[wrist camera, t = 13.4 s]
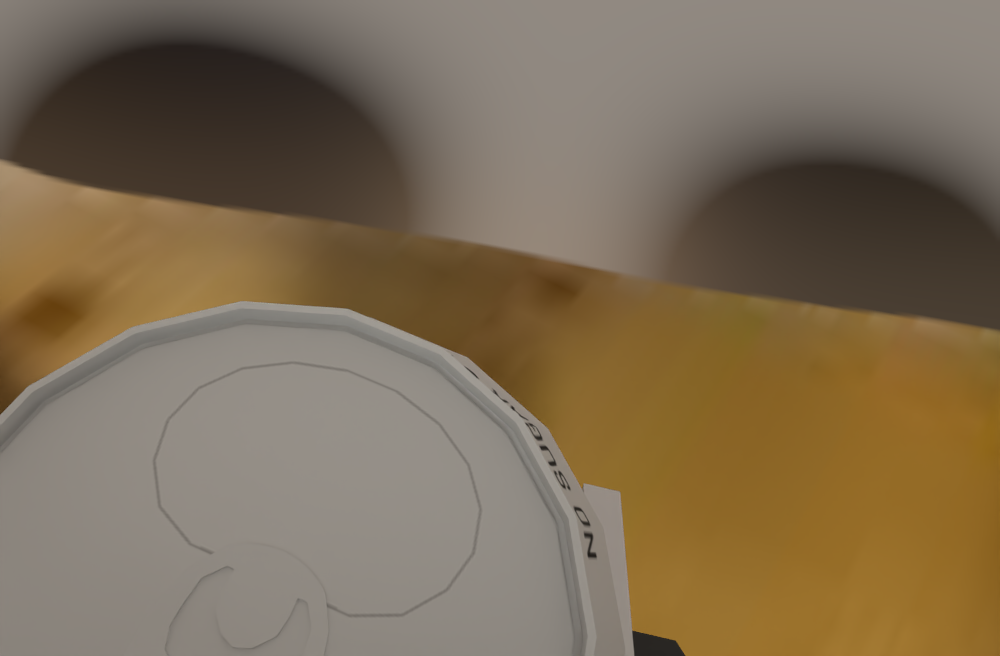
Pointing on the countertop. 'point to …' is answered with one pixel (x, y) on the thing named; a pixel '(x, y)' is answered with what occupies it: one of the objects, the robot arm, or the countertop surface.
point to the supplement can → (291, 500)
